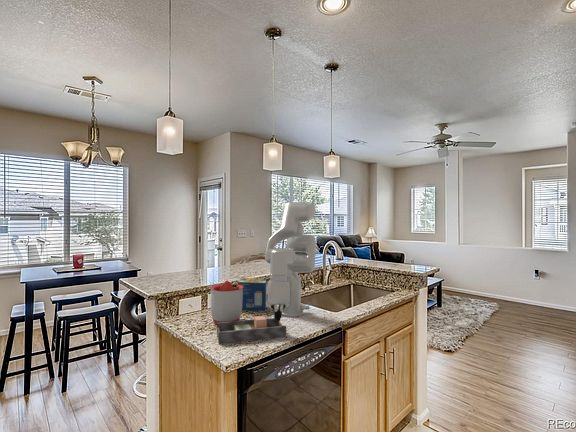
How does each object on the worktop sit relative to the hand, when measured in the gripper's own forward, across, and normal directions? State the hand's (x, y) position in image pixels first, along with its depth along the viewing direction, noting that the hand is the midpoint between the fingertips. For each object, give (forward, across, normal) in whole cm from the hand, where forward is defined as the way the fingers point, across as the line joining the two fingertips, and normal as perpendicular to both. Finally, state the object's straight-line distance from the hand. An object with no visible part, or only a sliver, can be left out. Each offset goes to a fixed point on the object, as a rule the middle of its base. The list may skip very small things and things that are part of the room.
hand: (277, 319), depth 136 cm
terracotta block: (+3, +8, -1) cm, 8 cm away
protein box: (+5, +4, -40) cm, 40 cm away
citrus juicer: (+6, +20, -21) cm, 29 cm away
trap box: (+6, +12, -1) cm, 13 cm away
